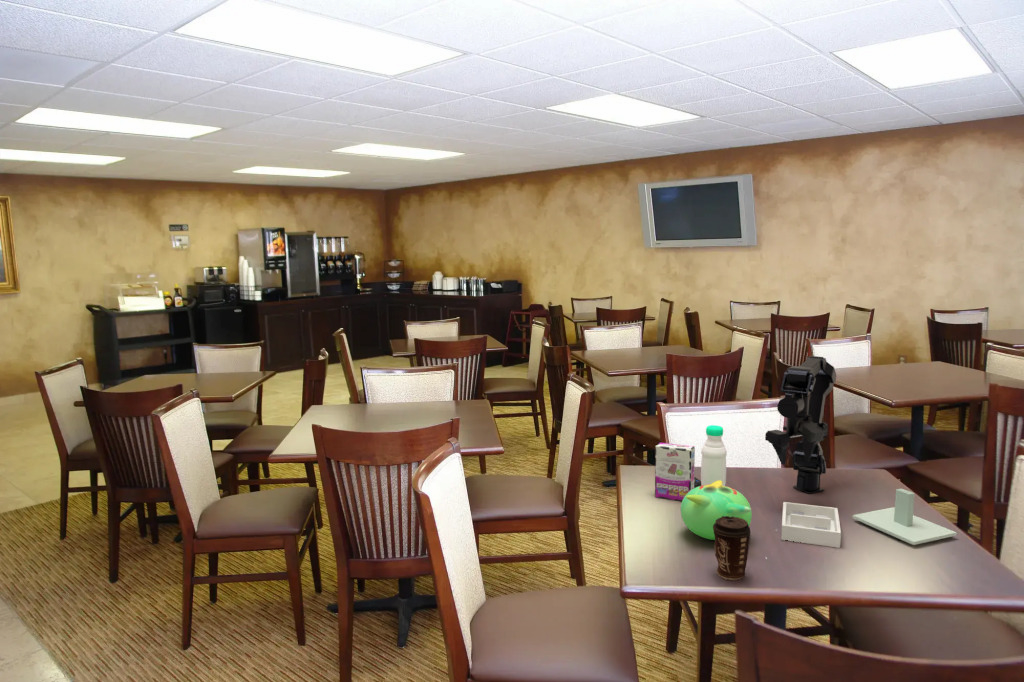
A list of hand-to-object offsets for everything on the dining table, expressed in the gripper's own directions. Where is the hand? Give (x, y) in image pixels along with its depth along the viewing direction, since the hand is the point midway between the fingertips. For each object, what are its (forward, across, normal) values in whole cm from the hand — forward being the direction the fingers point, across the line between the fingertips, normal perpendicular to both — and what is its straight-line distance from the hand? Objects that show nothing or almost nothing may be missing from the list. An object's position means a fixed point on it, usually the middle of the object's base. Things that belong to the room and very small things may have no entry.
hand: (795, 462), depth 208 cm
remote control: (+14, -14, +34) cm, 39 cm away
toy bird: (+13, -36, -9) cm, 39 cm away
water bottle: (+13, -24, +7) cm, 28 cm away
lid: (+12, +13, -26) cm, 31 cm away
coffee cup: (+13, -46, -27) cm, 55 cm away
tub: (+13, -10, -16) cm, 23 cm away
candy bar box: (+13, -28, +20) cm, 37 cm away
